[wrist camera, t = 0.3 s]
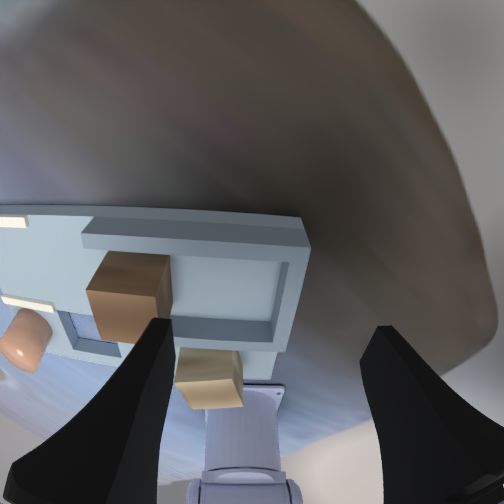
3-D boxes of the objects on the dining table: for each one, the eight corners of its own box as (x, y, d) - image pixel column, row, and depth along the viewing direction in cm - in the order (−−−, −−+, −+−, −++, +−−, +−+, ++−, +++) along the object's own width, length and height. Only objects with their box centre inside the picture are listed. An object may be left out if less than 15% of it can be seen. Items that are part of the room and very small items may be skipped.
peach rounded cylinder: (58, 343, 23) (43, 377, 20) (26, 336, 23) (10, 366, 20) (44, 311, 21) (24, 346, 18) (11, 305, 21) (-9, 336, 17)
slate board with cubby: (269, 366, 27) (271, 398, 24) (35, 337, 25) (23, 363, 22) (300, 217, 19) (311, 247, 16) (-14, 205, 17) (-40, 227, 14)
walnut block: (173, 302, 21) (162, 347, 17) (118, 297, 20) (101, 339, 17) (169, 253, 18) (155, 296, 15) (109, 248, 18) (85, 289, 15)
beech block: (243, 365, 25) (243, 406, 21) (196, 369, 25) (192, 409, 21) (232, 334, 22) (231, 378, 19) (181, 339, 23) (174, 382, 19)
